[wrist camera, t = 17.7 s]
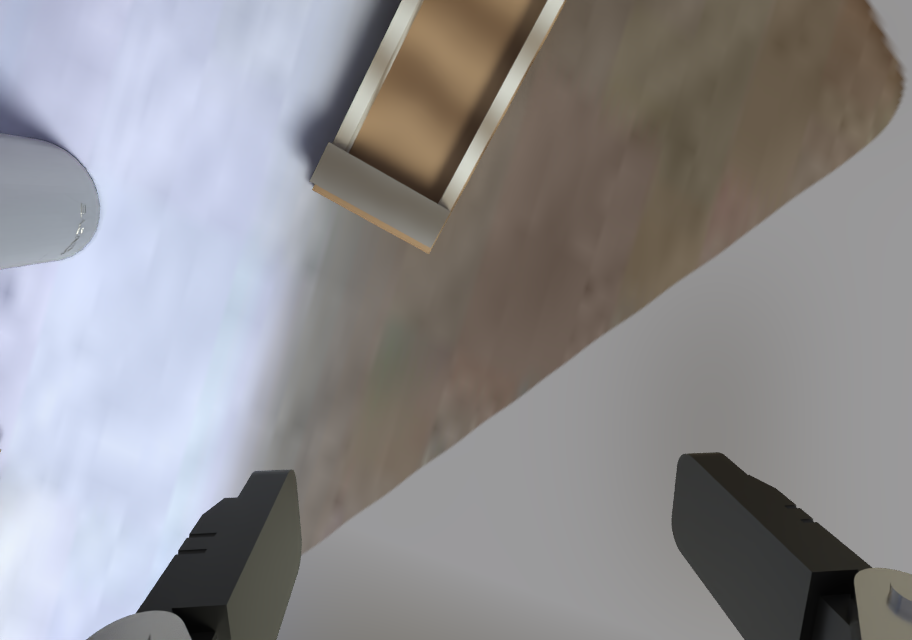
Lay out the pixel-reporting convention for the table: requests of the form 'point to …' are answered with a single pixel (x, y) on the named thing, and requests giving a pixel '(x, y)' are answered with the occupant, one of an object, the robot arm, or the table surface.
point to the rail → (430, 110)
